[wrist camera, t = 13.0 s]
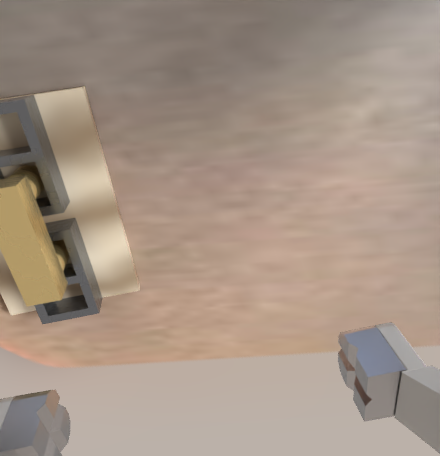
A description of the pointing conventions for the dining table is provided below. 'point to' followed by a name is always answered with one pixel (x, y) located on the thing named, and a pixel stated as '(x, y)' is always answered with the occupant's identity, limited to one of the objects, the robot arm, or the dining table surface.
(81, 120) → the chain board
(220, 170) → the dining table surface
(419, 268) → the dining table surface
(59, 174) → the chain ends
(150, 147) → the dining table surface
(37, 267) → the tan bar
